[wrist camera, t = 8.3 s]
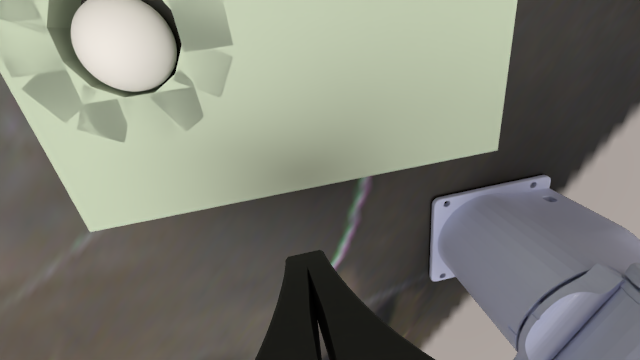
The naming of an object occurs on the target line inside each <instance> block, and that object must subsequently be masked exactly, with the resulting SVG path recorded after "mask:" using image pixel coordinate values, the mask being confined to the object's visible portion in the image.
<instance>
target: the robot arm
mask: <svg viewBox="0 0 640 360" xmlns="http://www.w3.org/2000/svg"><path fill="white" fill-rule="evenodd" d="M550 182H551V179H550V177H548V176H546V175H540V176H536V177H531V178H526V179H522V180H517V181H512V182H508V183H503V184H498V185H493V186H489V187H484V188H479V189H475V190H470V191H465V192H461V193H456V194H451V195H447V196H442V197H438V198H436V199H434V201H433V202H432V215H431V244H430V273H429V276H430V278H431V280H432V281H440V280H444V279H448V278H452V277H456V278H457V279H458V280H459V281H460V282H461V284H462V285H463V286H464V287H465V289H466V290H467V291H468V292H469V293H470V295H471V296H472V297H473V298H474V300H475V301H476V302H477V303H478V304H479V306H480V307H481V308H482V309H483V311H484V312H485V313H486V314H487V315H488V316H489V318H490V319H491V320H492V322H493V323H494V324H495V325H496V326H497V328H498V329H499V330H500V331H501V333H502V334H503V335H504V336H505V337H506V339H507V340H508V341H509V342H510V344H511V345H512V346H513V347H514V348H515V350H516V351H517V352H518V353H517V355H516V357H515V358H514V360H640V240H639V239H638V238H637V237H636V236H635V235H634V234H632V233H631V232H630V231H628V230H627V229H625V228H623V227H622V226H620V225H618V224H616V223H615V222H613V221H611V220H609V219H607V218H605V217H603V216H601V215H599V214H597V213H595V212H594V211H592V210H590V209H588V208H586V207H584V206H582V205H580V204H578V203H576V202H574V201H573V200H571V199H568V198H567V197H565V196H563V195H561V194H559V193H557V192H555V191H553V190H552V189H550V188H549V187H550ZM446 201H447V203H446V204H444V203H445V202H446ZM317 320H318V321H317ZM318 323H319V327H320V330H321V333H322V336H323V340H324V343H325V346H326V349H327V353H328V356H329V359H330V360H435V359H433V358H432V357H430V356H429V355H427V354H426V353H424V352H423V351H421V350H420V349H419V348H417V347H416V346H414V345H413V344H412V343H410V342H409V341H408V340H406V339H405V338H403V337H402V336H401V335H399V334H398V333H397V332H395V331H394V330H393V329H392V328H391V327H389V326H388V325H387V324H386V323H385V322H383V321H382V320H381V319H380V318H379V317H378V316H377V315H375V314H374V313H373V312H372V311H371V310H370V309H369V308H368V307H367V306H366V305H365V304H364V303H363V302H362V301H361V300H360V299H359V298H358V297H357V296H356V295H355V294H354V293H353V291H352V290H351V289H350V288H349V287H348V286H347V285H346V283H345V282H344V281H343V280H342V279H341V277H340V276H339V275H338V274H337V272H336V271H335V270H334V268H333V267H332V265H331V264H330V262H329V261H328V259H327V258H326V256H325V254H324V252H323V251H321V250H318V251H313V252H309V253H304V254H300V255H295V256H291V257H288V258H287V259H286V266H285V273H284V279H283V283H282V287H281V291H280V295H279V299H278V302H277V306H276V309H275V311H274V314H273V317H272V320H271V323H270V326H269V329H268V331H267V334H266V336H265V339H264V341H263V343H262V346H261V348H260V350H259V352H258V354H257V357H256V359H255V360H322V358H321V348H320V339H319V330H318Z"/></svg>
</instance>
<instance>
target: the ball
mask: <svg viewBox="0 0 640 360" xmlns="http://www.w3.org/2000/svg"><path fill="white" fill-rule="evenodd" d="M71 40H72V45H73V48H74V51H75V53H76V55H77V57H78V59H79V60H80V62H81V63H82V64H83V66H84V67H85V68H86V69H87V70H88V71H89V72H90V73H91V74H92V75H93V76H94V77H96V78H97V79H98V80H100V81H101V82H103V83H105V84H107V85H109V86H111V87H113V88H116V89H120V90H124V91H132V92H139V91H146V90H150V89H153V88H155V87H157V86H159V85H160V84H162V83H163V82H164V81H165V80H166V79H167V78H168V77H169V76H170V75H171V73H172V71H173V69H174V67H175V64H176V59H177V47H176V42H175V38H174V36H173V33H172V31H171V29H170V27H169V25H168V24H167V22H166V21H165V20H164V18H163V17H162V16H161V15H160V14H159V13H158V12H157V11H156V10H154V9H153V8H152V7H151V6H149V5H148V4H146V3H144V2H143V1H141V0H87V1H86V2H84V3H83V4H82V5H81V6H80V7H79V9H78V10H77V11H76V13H75V15H74V17H73V20H72V24H71Z"/></svg>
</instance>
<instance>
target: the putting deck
mask: <svg viewBox="0 0 640 360" xmlns="http://www.w3.org/2000/svg"><path fill="white" fill-rule="evenodd" d="M163 1H164V3H165V4H166V5H167V6H168V7H169V8H170V9H171V10H172V14H173V17H174V20H175V24H176V27H177V30H178V34H179V37H180V40H181V43H182V46H181V50H180V55H179V59H178V64H177V68H176V72H175V75H173V76H172V77H171V78H170V79H169V80H168V81H167V82H166V83H165V84H164V85H162V86H160V87H155V88H153V89H150V90H146V91H139V92H132V91H124V90H120V89H116V88H113V87H111V86H109V85H107V84H105V83H103V82H101V81H100V80H98V79H97V78H96V77H94V76H93V75H92V74H91V73H90V72H89V71H88V70H87V69H86V68H85V67H84V66H83V64H82V63H81V62H80V60H79V59H78V57H77V55H76V53H75V51H74V48H73V45H72V40H71V24H72V20H73V17H74V15H75V13H76V11H77V10H78V9H79V7H80V6H81V0H0V72H1V74H2V76H3V78H4V80H5V81H6V83H7V85H8V87H9V88H10V90H11V92H12V94H13V96H14V97H15V99H16V101H17V103H18V104H19V106H20V108H21V110H22V112H23V113H24V115H25V117H26V119H27V121H28V122H29V124H30V126H31V128H32V129H33V131H34V133H35V135H36V137H37V138H38V140H39V142H40V144H41V145H42V147H43V149H44V151H45V153H46V154H47V156H48V158H49V160H50V161H51V163H52V165H53V167H54V169H55V170H56V172H57V174H58V176H59V178H60V179H61V181H62V183H63V185H64V186H65V188H66V190H67V192H68V194H69V195H70V197H71V199H72V201H73V202H74V204H75V206H76V208H77V210H78V211H79V213H80V215H81V217H82V219H83V220H84V222H85V224H86V226H87V227H88V229H89V231H90V232H93V231H98V230H103V229H108V228H113V227H118V226H123V225H128V224H133V223H138V222H143V221H148V220H153V219H158V218H163V217H168V216H173V215H178V214H183V213H188V212H193V211H198V210H203V209H208V208H213V207H218V206H223V205H228V204H233V203H238V202H243V201H248V200H253V199H258V198H263V197H268V196H273V195H277V194H282V193H287V192H292V191H297V190H302V189H307V188H312V187H317V186H322V185H327V184H332V183H337V182H342V181H347V180H352V179H357V178H362V177H367V176H372V175H377V174H382V173H387V172H392V171H397V170H402V169H407V168H412V167H417V166H422V165H427V164H432V163H437V162H442V161H447V160H452V159H457V158H462V157H467V156H472V155H477V154H482V153H487V152H492V151H497V150H498V143H499V136H500V128H501V121H502V113H503V106H504V98H505V91H506V83H507V75H508V68H509V60H510V53H511V45H512V38H513V30H514V23H515V15H516V8H517V0H163Z"/></svg>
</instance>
